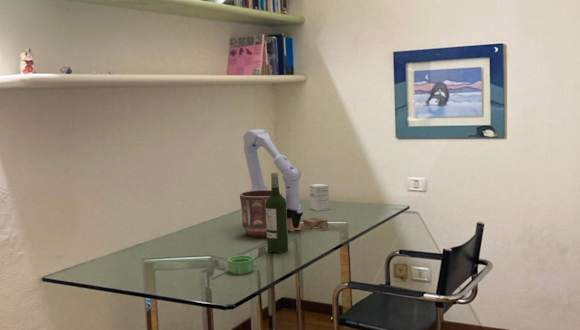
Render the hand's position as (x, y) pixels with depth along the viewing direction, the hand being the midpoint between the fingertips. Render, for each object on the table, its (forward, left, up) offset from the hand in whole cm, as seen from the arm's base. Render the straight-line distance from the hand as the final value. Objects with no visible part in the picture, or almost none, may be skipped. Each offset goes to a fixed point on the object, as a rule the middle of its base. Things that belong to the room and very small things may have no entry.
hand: (293, 226), depth 270 cm
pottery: (-15, -1, -2) cm, 15 cm away
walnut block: (+11, +1, -2) cm, 11 cm away
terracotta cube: (0, 0, -1) cm, 1 cm away
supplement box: (+31, +37, -2) cm, 48 cm away
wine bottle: (-20, -30, -2) cm, 36 cm away
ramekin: (-41, -48, -2) cm, 63 cm away
